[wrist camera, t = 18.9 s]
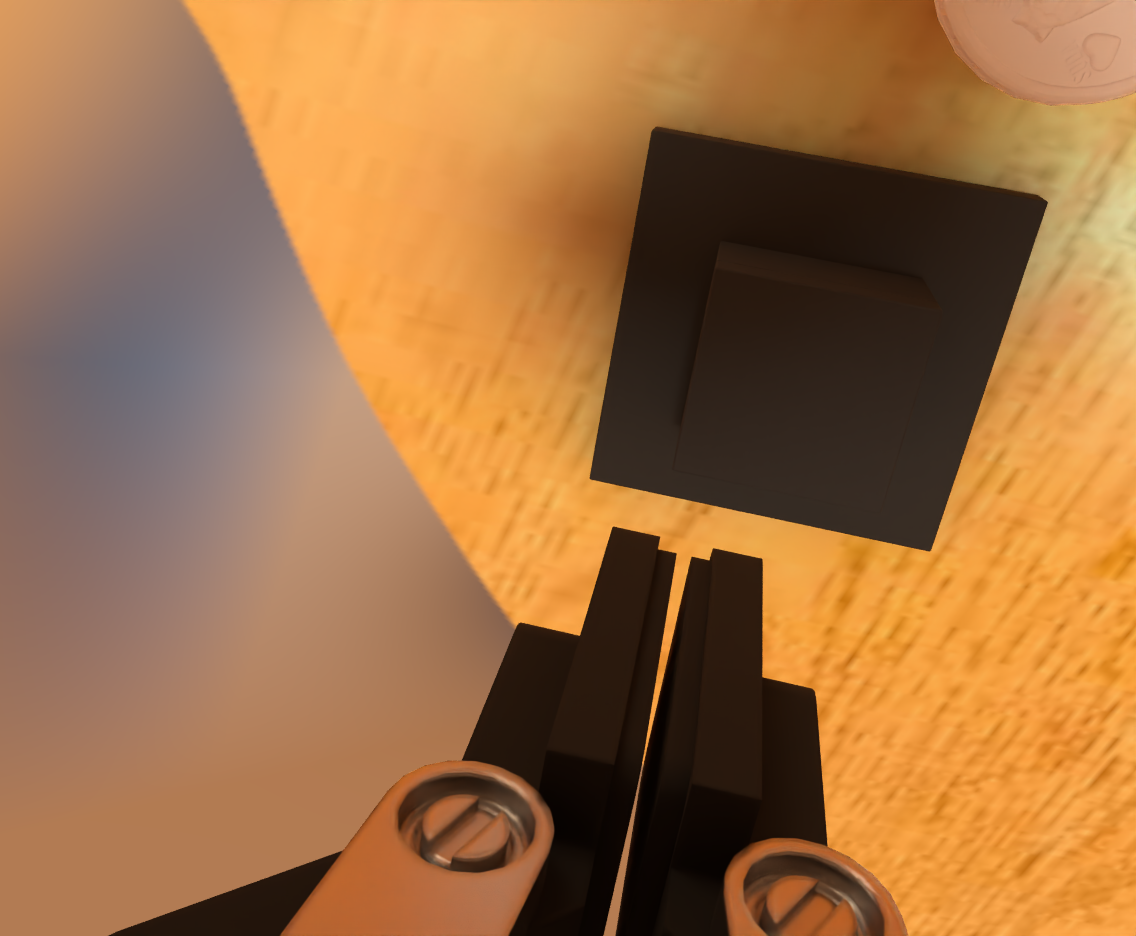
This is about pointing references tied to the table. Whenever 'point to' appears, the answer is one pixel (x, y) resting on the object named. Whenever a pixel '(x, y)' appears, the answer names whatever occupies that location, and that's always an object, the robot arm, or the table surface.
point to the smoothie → (1046, 46)
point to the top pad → (805, 376)
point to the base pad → (827, 232)
